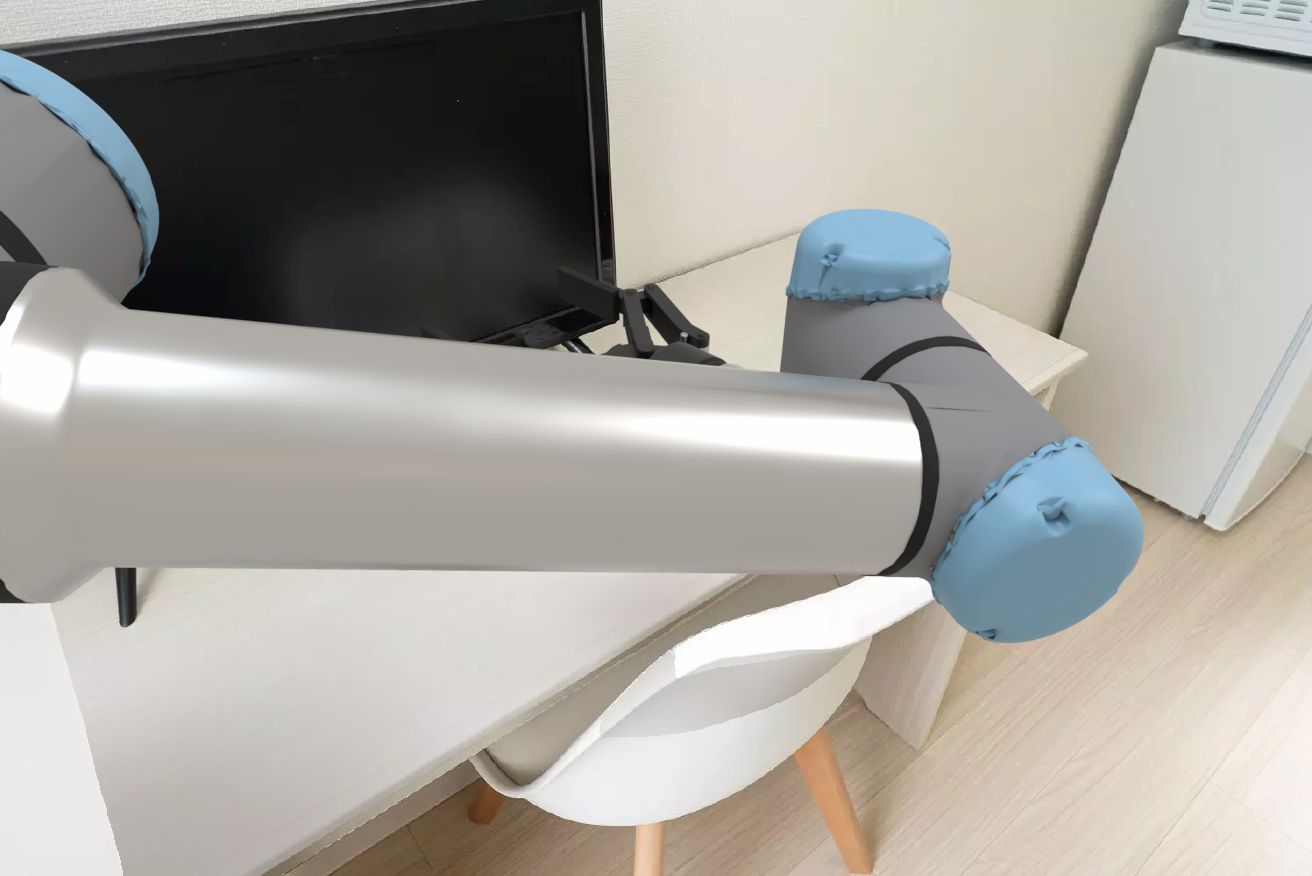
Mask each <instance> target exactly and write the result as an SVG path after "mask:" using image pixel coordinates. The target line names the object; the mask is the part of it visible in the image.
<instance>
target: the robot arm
mask: <svg viewBox="0 0 1312 876" xmlns="http://www.w3.org/2000/svg"><path fill="white" fill-rule="evenodd" d="M159 226H160V210H159V203H158V200H157V197H156V191H155V188H154V185H153V182H152V178H151V174H150V173H149V171H148V168H147V166H146V164H145V162H144V160H143V159H142V157H141V155H140V153H139V152H138V150H137V149H136V147H135V145H134V144H133V142H132V141H131V139H130V138H129V137H128V135H126V133H125V132H124V131H123V130H122V128H121V127H120V126H119V124H118V123H117V122H115V120H113V118H112V117H111V116H110V115H109V114H108V113H107V112H106V111H105V110H104V109H103V108H102V107H101V106H100V105H98V104H97V103H96V102H95V101H94V100H93V99H91V98H90V97H89V96H88V95H86V94H85V93H84V92H82V91H81V90H80V89H79V88H77V87H76V86H75V85H73V84H71V83H70V82H69V81H67V80H66V79H64V78H62V77H61V76H60V75H57V74H56V73H54V72H52V71H51V70H49V69H47V68H45V67H43V66H41V65H40V64H37V63H35V62H34V61H31V60H29V59H26V58H24V57H22V56H20V55H16V54H14V53H11V52H8V51H7V50H6V51H5V50H3V49H0V604H34V605H35V604H55V603H58V602H62V601H63V600H65V599H67V598H68V597H69V596H71V595H73V594H74V593H75V592H76V591H78V590H79V589H81V588H82V587H83V586H84V585H85V584H87V583H88V582H89V581H90V580H92V579H93V578H94V577H96V576H98V574H100V573H101V572H102V571H103V570H105V569H109V568H118V569H119V568H123V569H124V568H126V569H129V568H133V569H218V570H219V569H220V570H221V569H223V570H224V569H226V570H227V569H232V570H233V569H234V570H322V571H323V570H327V571H329V570H332V571H333V570H334V571H339V570H340V571H419V572H420V571H422V572H424V571H431V572H432V571H433V572H525V573H526V572H533V573H536V572H538V573H628V574H630V573H631V574H632V573H633V574H634V573H637V574H642V573H643V574H724V575H725V574H730V575H731V574H732V575H733V574H734V575H736V574H737V575H738V574H739V575H828V576H829V575H833V576H835V575H836V576H837V575H839V576H844V575H845V576H863V577H882V578H883V577H884V578H918V579H922V580H924V581H926V582H927V583H928V584H929V586H930V590H931V593H932V598H934V600H935V602H936V603H937V604H938V605H940V606H942V607H943V608H944V609H945V610H946V612H948V614H949V615H950V616H951V617H952V618H953V620H954V621H955V622H956V623H957V624H958V625H959V626H960V627H961V628H963V629H964V630H966V631H967V632H968V633H971V634H973V635H976V636H979V637H980V638H981V639H982V640H984V641H988V642H991V643H997V644H1019V643H1027V642H1032V641H1033V642H1034V641H1036V640H1040V639H1043V638H1047V637H1050V636H1053V635H1056V634H1058V633H1061V632H1063V631H1065V630H1067V629H1069V628H1072V627H1073V626H1075V625H1077V624H1079V623H1081V622H1082V621H1084V620H1085V619H1087V618H1089V617H1090V616H1092V615H1093V614H1094V613H1096V611H1098V610H1099V609H1101V608H1102V607H1103V606H1104V605H1106V603H1108V602H1109V601H1110V600H1111V599H1112V598H1113V597H1114V596H1116V594H1117V593H1118V591H1119V588H1120V587H1121V585H1122V584H1123V582H1124V581H1125V579H1127V578H1128V577H1129V576H1130V575H1131V573H1133V571H1134V570H1135V568H1136V566H1137V564H1138V562H1139V559H1140V557H1141V554H1142V551H1143V547H1144V541H1145V526H1144V520H1143V517H1142V515H1141V511H1140V510H1139V509H1138V506H1137V505H1136V503H1135V502H1134V500H1133V499H1132V497H1131V496H1130V495H1129V494H1128V493H1127V491H1126V490H1125V489H1124V488H1123V487H1122V485H1120V484H1119V482H1118V481H1117V480H1116V479H1115V477H1114V476H1113V475H1112V474H1111V473H1110V472H1109V471H1108V469H1107V468H1106V467H1105V466H1104V465H1103V464H1102V463H1101V462H1100V460H1099V459H1098V458H1097V457H1096V455H1095V452H1094V449H1093V447H1092V446H1091V445H1090V444H1089V442H1087V441H1086V440H1085V439H1084V438H1079V437H1078V436H1074V435H1073V433H1071V432H1070V431H1069V430H1068V429H1067V428H1066V427H1065V426H1064V425H1063V424H1062V423H1061V422H1060V421H1059V420H1058V419H1057V418H1056V417H1054V416H1053V415H1052V413H1050V411H1049V410H1047V409H1046V408H1045V407H1044V406H1043V405H1042V404H1041V403H1040V402H1039V401H1038V400H1037V399H1036V398H1035V397H1034V396H1033V394H1031V393H1030V392H1029V391H1028V390H1027V389H1026V388H1025V387H1024V386H1022V384H1020V382H1018V380H1017V379H1016V378H1014V376H1012V375H1011V373H1009V372H1008V371H1007V370H1006V369H1005V368H1004V367H1003V366H1002V365H1001V364H1000V363H999V362H998V361H997V360H996V359H995V358H994V357H993V356H992V354H990V352H989V351H988V350H987V349H986V348H984V346H983V345H981V343H980V342H978V340H977V339H976V338H975V337H973V335H972V334H971V333H969V331H968V330H966V328H964V326H962V324H961V323H960V322H959V321H958V320H957V319H956V318H954V316H953V315H951V314H950V312H948V311H947V309H945V308H944V305H943V300H944V296H945V294H946V292H948V290H949V287H950V279H949V274H950V267H951V259H952V252H951V247H950V241H949V240H948V239H947V236H946V235H945V233H943V231H941V230H940V229H939V228H938V227H936V226H935V225H933V224H932V223H930V222H929V221H925V220H924V219H922V218H919V217H916V216H913V215H910V214H907V213H903V212H898V211H894V210H887V209H878V208H851V209H841V210H837V211H832V212H828V213H826V214H824V215H821V216H819V217H817V218H815V219H813V220H812V221H811V222H809V224H807V225H806V226H805V227H804V228H803V229H802V231H801V233H800V235H799V236H798V239H797V242H796V247H795V252H794V257H793V262H792V267H791V271H790V272H791V273H790V277H789V282H788V285H786V287H785V296H786V297H787V298H786V300H787V301H786V307H785V308H786V309H785V318H784V328H783V337H782V346H781V356H780V365H779V371H772V370H771V371H770V370H761V369H752V368H751V369H750V368H746V367H743V366H741V365H738V364H737V363H728V362H727V361H726V360H724V359H723V358H721V357H719V356H716V355H714V354H712V353H710V340H711V339H710V338H711V335H710V333H708V332H707V331H705V330H703V329H702V328H700V327H698V326H696V325H694V324H693V323H691V322H690V321H689V319H688V318H687V317H686V316H685V315H684V313H683V312H682V311H681V310H680V309H679V308H678V307H677V305H676V304H675V303H674V302H673V301H672V300H671V299H670V298H669V297H668V295H667V294H666V293H665V292H664V290H663V289H662V288H661V287H660V286H659V285H658V284H656V283H653V282H652V283H651V282H650V283H646V284H645V285H643V290H639V291H638V290H637V289H635V288H625V289H622V288H620V287H618V286H616V285H614V284H611V283H609V282H607V281H600V280H597V279H595V278H593V277H590V276H589V275H585V274H583V273H582V272H579V271H576V270H574V269H572V268H570V267H567V266H565V265H562V266H560V267H557V268H556V276H557V277H556V279H557V290H558V291H557V292H558V299H560V300H562V301H565V302H567V303H569V304H572V305H573V306H575V307H578V308H580V309H581V310H584V311H586V312H588V313H590V314H592V315H595V316H597V317H599V318H601V319H603V320H605V321H608V322H610V323H611V324H615V323H616V322H618V321H620V320H621V319H620V318H621V317H620V315H622V327H623V328H624V330H625V334H626V339H627V343H625V344H622V343H617V344H615V345H613V346H611V347H610V348H609V349H608V350H607V351H606V352H603V353H600V354H596V353H586V352H585V353H584V352H576V351H565V350H556V349H555V350H554V349H545V348H533V347H523V346H514V345H502V344H493V343H482V342H471V341H461V340H459V339H457V338H455V337H453V336H452V335H449V334H448V333H446V332H445V331H442V330H441V329H439V328H437V327H435V325H432V324H430V323H426V324H423V325H421V326H419V332H420V337H419V336H411V335H409V336H408V335H399V334H389V333H377V332H367V331H358V330H357V331H356V330H349V329H336V328H327V327H318V326H317V327H316V326H307V325H296V324H286V323H275V322H265V321H256V320H255V321H253V320H243V319H234V318H222V317H214V316H213V317H212V316H202V315H201V316H200V315H191V314H183V313H182V314H181V313H171V312H162V311H161V312H160V311H152V310H151V311H150V310H139V309H129V308H128V307H126V306H124V305H122V304H121V303H122V302H123V300H125V297H127V295H128V294H129V292H130V291H131V290H132V289H134V287H136V286H137V285H138V284H139V283H140V282H141V281H142V280H143V279H144V277H145V276H146V272H147V269H148V267H149V265H150V264H151V255H152V253H153V251H154V247H155V246H156V242H157V239H158V233H159ZM645 318H646V319H647V320H648V322H649V323H650V324H651V325H652V327H653V328H654V329H655V330H656V332H657V333H658V334H659V335H660V337H661V338H662V339H663V340H664V341H665V343H666V344H667V345H659V344H654V341H653V340H652V336H651V332H650V328H649V325H647V323H646V319H645Z"/></svg>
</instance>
